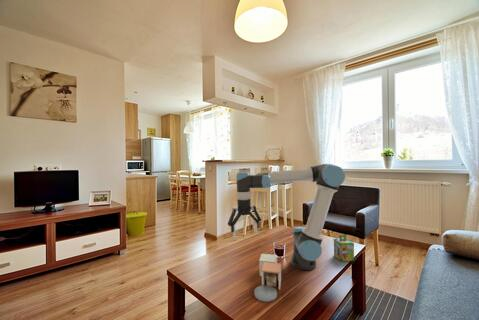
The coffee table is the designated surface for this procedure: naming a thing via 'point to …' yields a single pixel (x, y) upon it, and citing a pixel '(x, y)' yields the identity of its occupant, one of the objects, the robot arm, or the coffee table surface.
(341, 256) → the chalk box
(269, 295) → the dish
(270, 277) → the block
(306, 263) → the robot arm
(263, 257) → the pale green cube
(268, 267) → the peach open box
